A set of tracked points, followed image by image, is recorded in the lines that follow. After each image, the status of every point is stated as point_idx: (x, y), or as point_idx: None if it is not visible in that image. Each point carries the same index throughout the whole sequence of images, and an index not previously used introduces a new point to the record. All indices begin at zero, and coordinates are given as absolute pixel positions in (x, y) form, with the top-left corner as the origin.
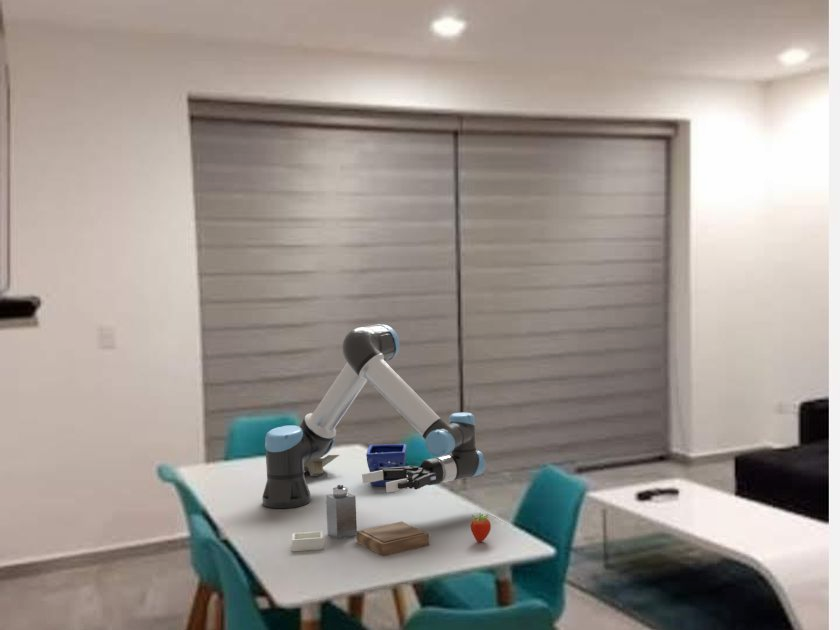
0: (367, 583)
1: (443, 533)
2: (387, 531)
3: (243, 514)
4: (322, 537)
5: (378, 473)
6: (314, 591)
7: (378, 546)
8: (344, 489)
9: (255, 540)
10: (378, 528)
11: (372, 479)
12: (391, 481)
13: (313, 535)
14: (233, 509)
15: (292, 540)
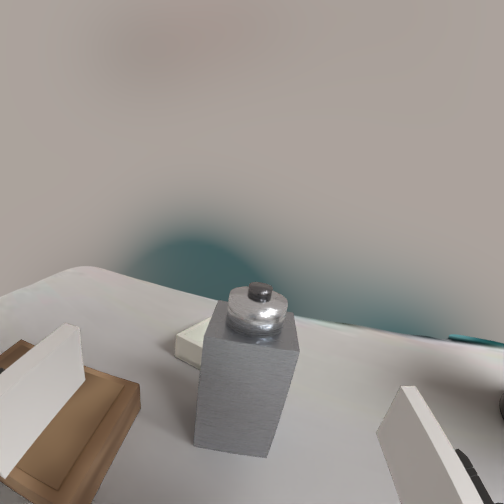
0: (12, 294)
1: None
2: None
3: (471, 366)
4: (178, 335)
5: (438, 486)
6: (66, 276)
7: None
8: (231, 294)
9: (318, 336)
10: (88, 412)
11: (401, 469)
12: (52, 345)
13: None
14: (496, 364)
15: None
